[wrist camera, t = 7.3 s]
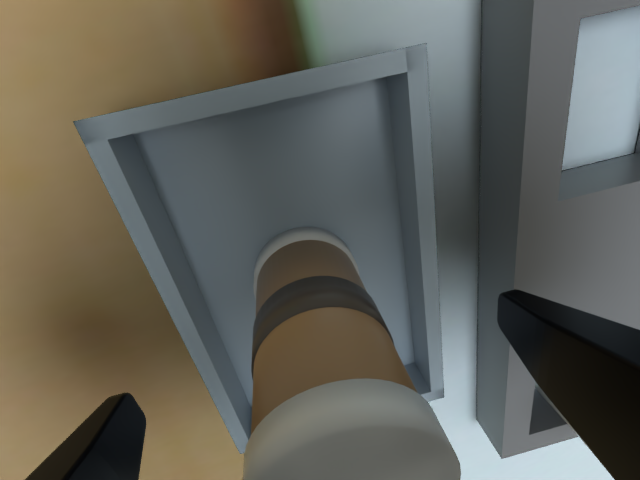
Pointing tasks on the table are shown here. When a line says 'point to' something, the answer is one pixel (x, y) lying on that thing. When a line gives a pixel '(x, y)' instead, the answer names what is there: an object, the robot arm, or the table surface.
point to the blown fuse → (332, 375)
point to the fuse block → (543, 208)
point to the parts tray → (281, 204)
